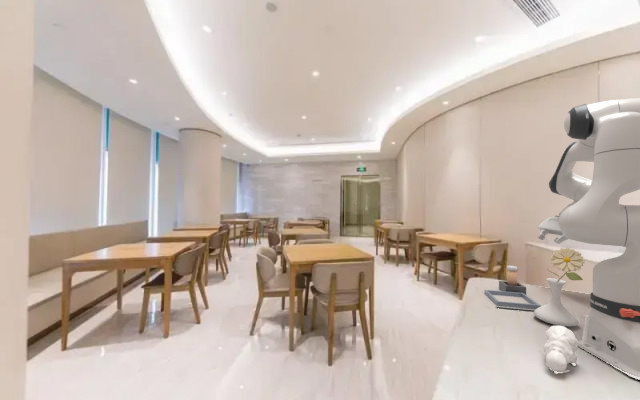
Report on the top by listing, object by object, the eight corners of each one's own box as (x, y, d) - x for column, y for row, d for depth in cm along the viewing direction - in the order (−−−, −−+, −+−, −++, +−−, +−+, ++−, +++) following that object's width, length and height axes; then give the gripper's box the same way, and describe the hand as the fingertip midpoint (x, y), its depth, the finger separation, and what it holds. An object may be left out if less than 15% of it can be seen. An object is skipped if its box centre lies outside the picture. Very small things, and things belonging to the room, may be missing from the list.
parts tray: (541, 312, 100) (541, 305, 100) (497, 308, 103) (497, 301, 103) (522, 299, 113) (522, 292, 113) (484, 295, 116) (484, 289, 116)
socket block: (526, 298, 114) (526, 287, 114) (505, 296, 116) (505, 285, 116) (517, 292, 121) (518, 282, 121) (498, 290, 123) (498, 280, 123)
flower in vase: (526, 318, 95) (527, 244, 95) (546, 313, 99) (547, 242, 99) (573, 335, 83) (574, 251, 83) (593, 329, 87) (595, 249, 87)
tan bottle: (519, 294, 116) (519, 267, 116) (508, 293, 117) (509, 267, 117) (515, 291, 120) (515, 265, 120) (505, 290, 121) (505, 264, 121)
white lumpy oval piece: (579, 327, 69) (573, 349, 61) (579, 360, 69) (573, 387, 61) (546, 319, 73) (537, 338, 65) (546, 350, 74) (537, 373, 66)
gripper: (548, 210, 127) (525, 231, 127) (588, 213, 106) (561, 238, 107) (558, 220, 126) (535, 241, 127) (601, 225, 106) (573, 250, 107)
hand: (547, 240), depth 117 cm, fingers open, 8 cm apart
